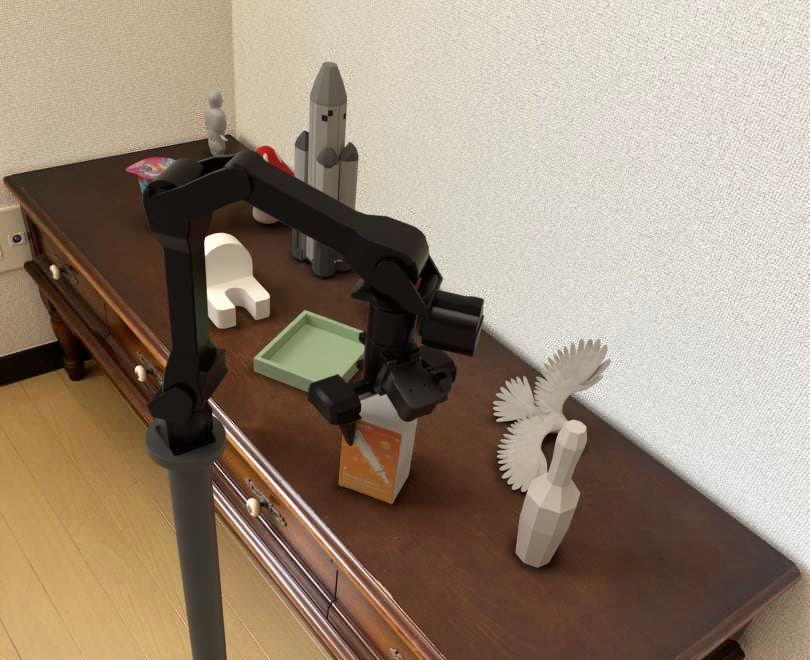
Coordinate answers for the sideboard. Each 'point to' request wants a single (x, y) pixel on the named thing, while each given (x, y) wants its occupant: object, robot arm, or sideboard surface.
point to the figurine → (215, 123)
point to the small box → (378, 451)
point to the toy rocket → (326, 163)
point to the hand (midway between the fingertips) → (379, 432)
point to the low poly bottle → (551, 499)
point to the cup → (149, 169)
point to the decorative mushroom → (276, 160)
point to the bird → (543, 408)
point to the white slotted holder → (231, 281)
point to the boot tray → (311, 352)
